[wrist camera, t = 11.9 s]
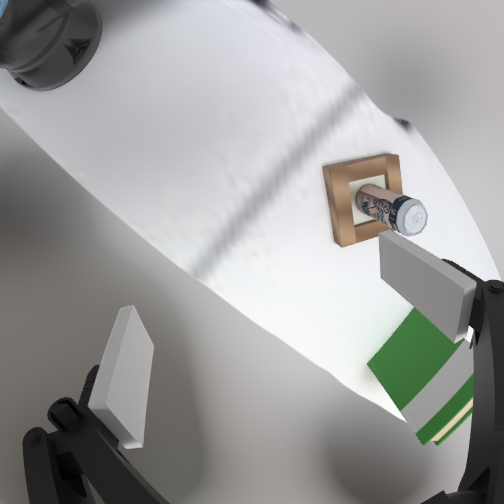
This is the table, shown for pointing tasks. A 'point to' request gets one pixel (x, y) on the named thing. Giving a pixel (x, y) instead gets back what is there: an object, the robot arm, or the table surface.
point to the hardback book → (427, 377)
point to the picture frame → (346, 190)
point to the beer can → (392, 209)
